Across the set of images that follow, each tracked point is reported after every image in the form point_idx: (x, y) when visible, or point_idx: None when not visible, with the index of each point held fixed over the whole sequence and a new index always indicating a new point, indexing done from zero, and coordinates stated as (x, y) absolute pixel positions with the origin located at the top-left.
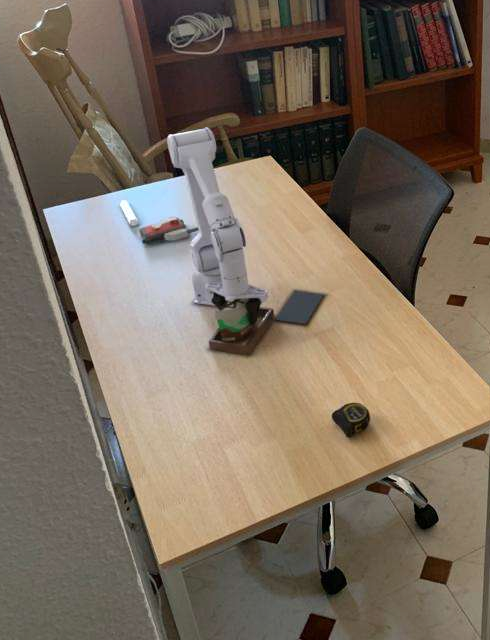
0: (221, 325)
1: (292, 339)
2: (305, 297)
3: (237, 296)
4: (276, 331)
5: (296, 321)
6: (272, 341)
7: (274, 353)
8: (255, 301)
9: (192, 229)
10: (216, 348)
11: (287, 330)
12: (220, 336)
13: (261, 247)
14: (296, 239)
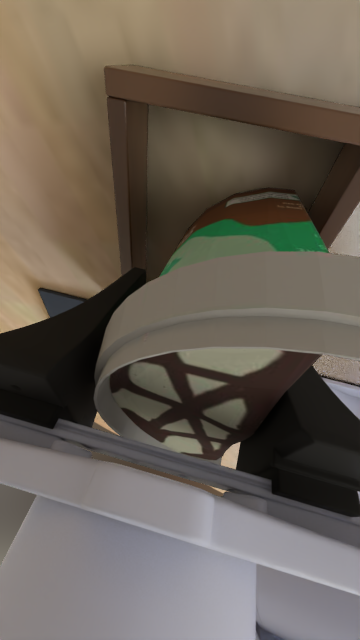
0: (295, 236)
1: (24, 221)
2: None
3: (65, 499)
4: (99, 264)
5: (67, 301)
6: (80, 208)
7: (17, 109)
8: (11, 392)
9: None
10: (338, 105)
11: (70, 267)
12: None
13: (231, 455)
14: None
